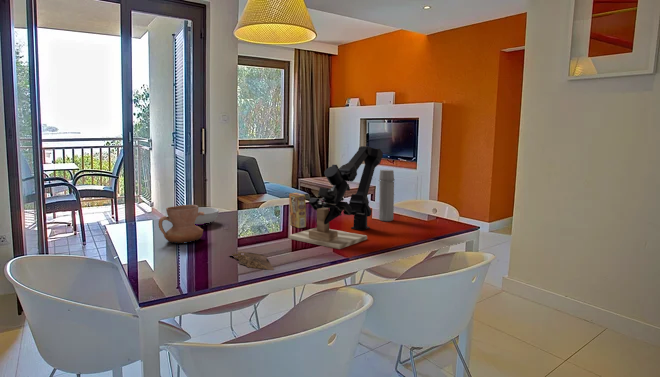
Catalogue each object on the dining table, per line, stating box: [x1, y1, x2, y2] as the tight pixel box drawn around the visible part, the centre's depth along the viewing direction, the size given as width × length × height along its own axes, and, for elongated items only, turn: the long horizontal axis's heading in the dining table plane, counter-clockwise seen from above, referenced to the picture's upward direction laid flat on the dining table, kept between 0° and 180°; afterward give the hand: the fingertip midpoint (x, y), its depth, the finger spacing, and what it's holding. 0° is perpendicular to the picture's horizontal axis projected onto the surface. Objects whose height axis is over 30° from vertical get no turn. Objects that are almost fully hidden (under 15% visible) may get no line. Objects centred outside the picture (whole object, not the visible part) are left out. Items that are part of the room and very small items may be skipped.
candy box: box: [288, 192, 307, 229], centre depth 199 cm, size 9×4×15 cm, turn 33°
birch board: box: [288, 227, 368, 250], centre depth 176 cm, size 19×26×2 cm
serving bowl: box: [194, 206, 220, 224], centre depth 203 cm, size 21×21×7 cm
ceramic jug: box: [157, 204, 204, 244], centre depth 172 cm, size 18×14×14 cm
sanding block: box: [308, 208, 339, 242], centre depth 170 cm, size 6×10×12 cm, turn 53°
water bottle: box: [378, 169, 395, 222], centre depth 210 cm, size 9×8×25 cm
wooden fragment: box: [231, 250, 275, 271], centre depth 147 cm, size 26×11×1 cm, turn 34°
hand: (320, 223), depth 169 cm, fingers closed on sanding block, 3 cm apart
